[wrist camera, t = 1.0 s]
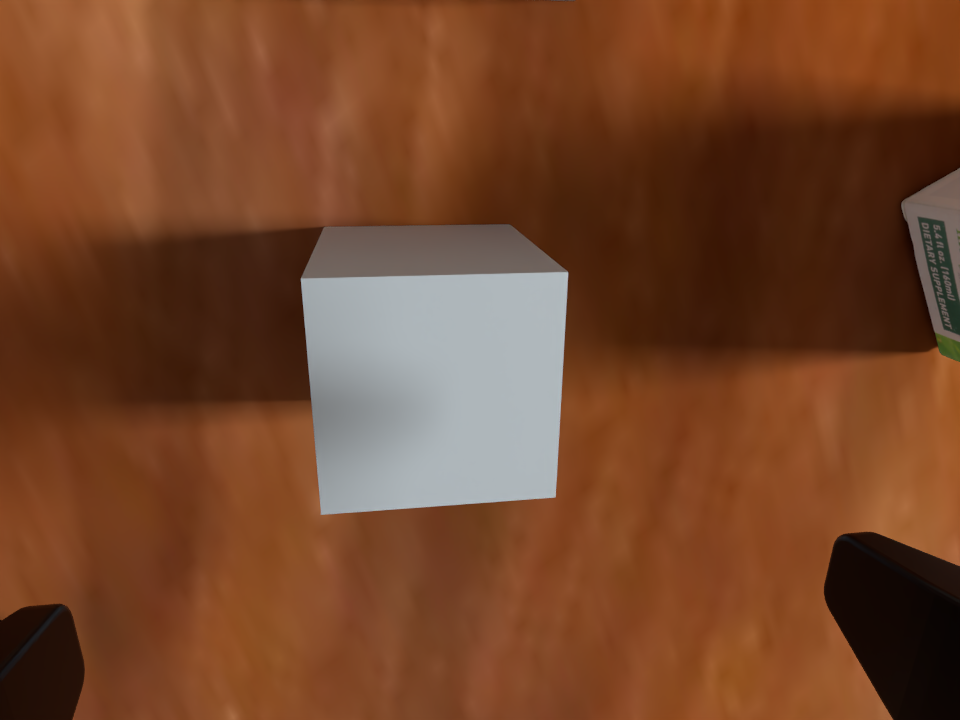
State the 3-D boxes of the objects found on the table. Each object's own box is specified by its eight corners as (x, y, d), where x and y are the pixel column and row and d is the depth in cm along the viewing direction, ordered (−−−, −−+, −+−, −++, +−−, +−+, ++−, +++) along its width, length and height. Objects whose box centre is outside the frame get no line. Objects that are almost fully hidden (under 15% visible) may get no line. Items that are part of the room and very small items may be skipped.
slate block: (336, 399, 19) (321, 514, 14) (324, 226, 18) (301, 278, 12) (505, 390, 20) (556, 497, 14) (509, 224, 18) (568, 271, 13)
